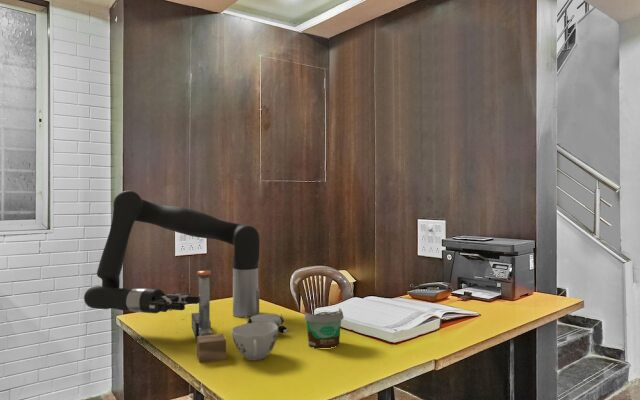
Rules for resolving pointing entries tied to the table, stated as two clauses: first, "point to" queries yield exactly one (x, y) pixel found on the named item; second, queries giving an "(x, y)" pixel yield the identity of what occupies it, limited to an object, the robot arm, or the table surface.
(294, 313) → the table surface
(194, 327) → the sleeve
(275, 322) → the robot toy
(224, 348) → the socket
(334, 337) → the food container
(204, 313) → the tube
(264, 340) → the teacup
